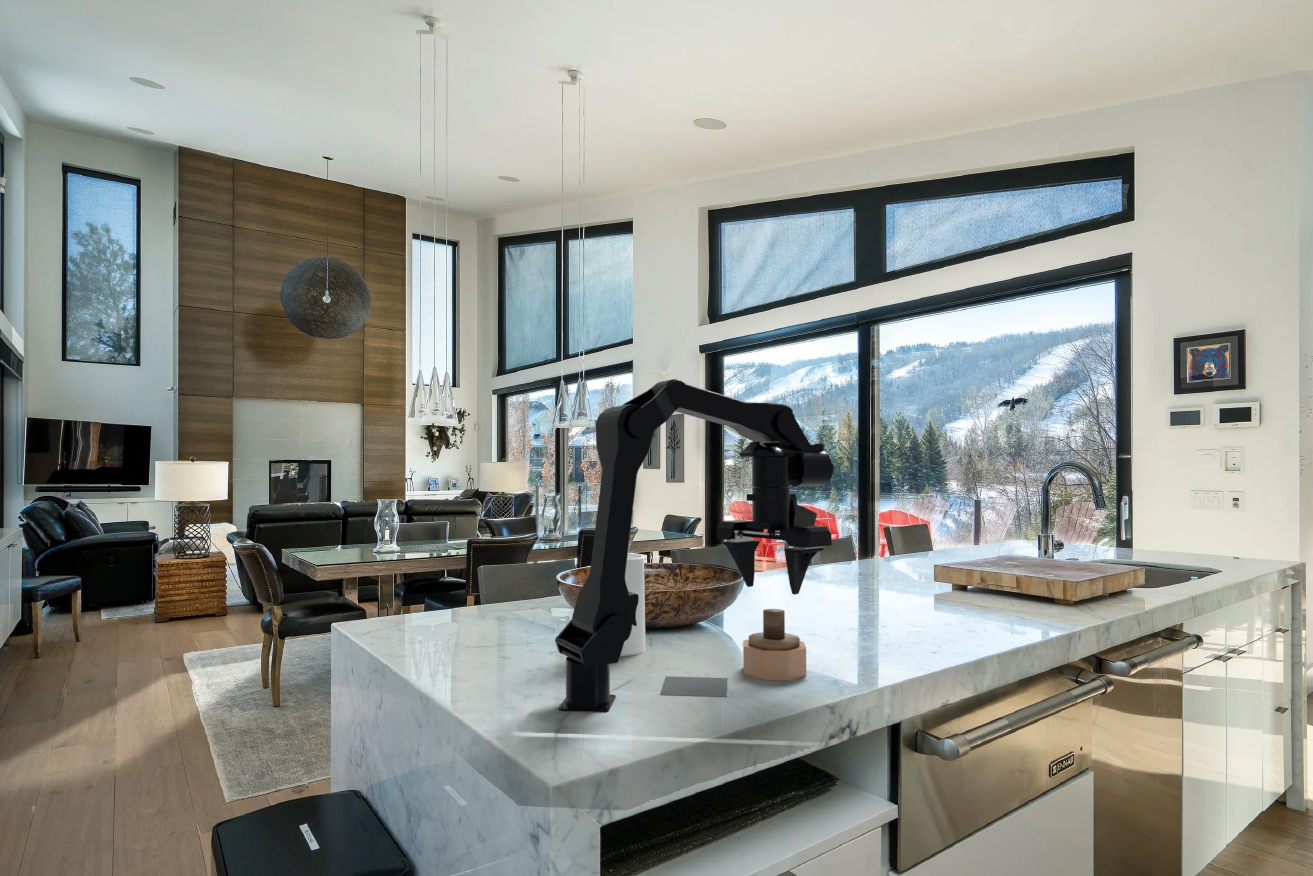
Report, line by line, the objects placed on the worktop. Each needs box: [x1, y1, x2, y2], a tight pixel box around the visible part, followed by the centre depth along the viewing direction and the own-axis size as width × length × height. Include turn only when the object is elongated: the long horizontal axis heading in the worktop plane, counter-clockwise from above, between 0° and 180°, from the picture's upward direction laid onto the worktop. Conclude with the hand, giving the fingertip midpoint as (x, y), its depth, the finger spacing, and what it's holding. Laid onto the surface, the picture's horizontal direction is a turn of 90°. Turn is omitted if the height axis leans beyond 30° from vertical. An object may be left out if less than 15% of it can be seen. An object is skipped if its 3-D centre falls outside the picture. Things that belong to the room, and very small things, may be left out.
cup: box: [620, 552, 646, 657], centre depth 128 cm, size 8×8×16 cm
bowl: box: [742, 639, 807, 681], centre depth 114 cm, size 9×9×4 cm
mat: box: [659, 675, 728, 698], centre depth 106 cm, size 9×9×1 cm
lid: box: [748, 608, 801, 650], centre depth 114 cm, size 8×8×5 cm
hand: (772, 590), depth 115 cm, fingers open, 9 cm apart
